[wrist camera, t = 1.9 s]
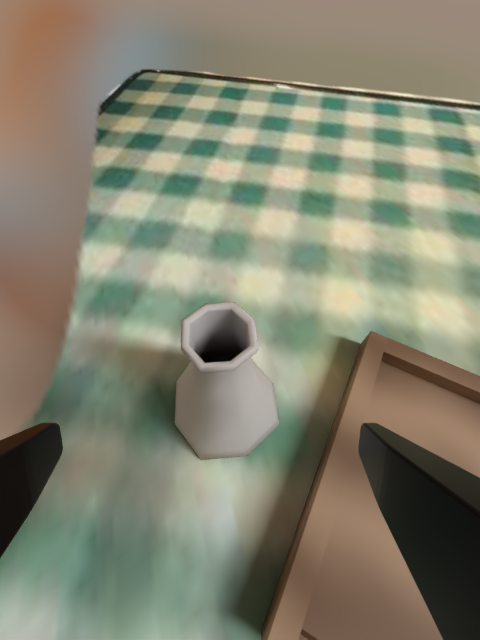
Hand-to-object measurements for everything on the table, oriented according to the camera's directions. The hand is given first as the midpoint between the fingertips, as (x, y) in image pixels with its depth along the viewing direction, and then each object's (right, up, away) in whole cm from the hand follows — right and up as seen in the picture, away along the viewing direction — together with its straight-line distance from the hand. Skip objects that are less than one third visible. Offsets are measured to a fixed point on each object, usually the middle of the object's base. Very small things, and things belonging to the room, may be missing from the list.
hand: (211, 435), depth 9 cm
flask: (0, -2, +12) cm, 12 cm away
